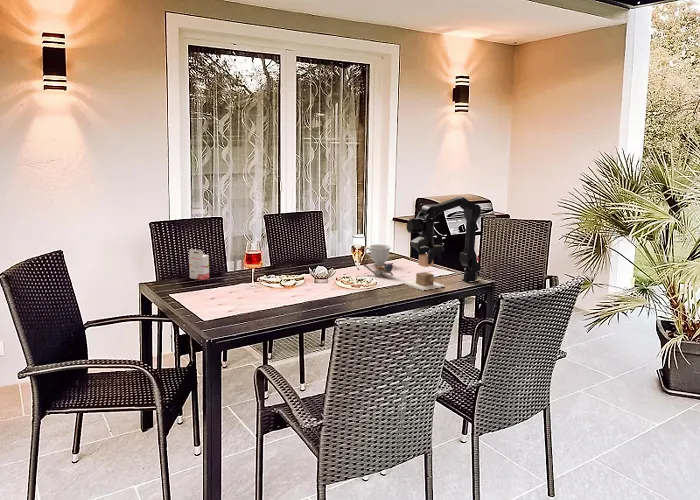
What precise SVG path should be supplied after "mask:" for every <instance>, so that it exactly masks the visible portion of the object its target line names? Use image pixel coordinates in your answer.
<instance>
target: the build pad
mask: <svg viewBox="0 0 700 500" xmlns="http://www.w3.org/2000/svg"><path fill="white" fill-rule="evenodd" d="M404 285H405V286H409V287H410V288H414V289H416V290H418V289H419V291H421V290H422V291H421V292H425V291H424V290H427V291H430V290H429V289H433V290H436V289H435V288H439V289H442V288H441V287H445V288H446V285H445V284H442V283H439V282H436V281H434V282H433V285H427V286H422V285H420V284H417V283H416V280H410V281H405V282H404Z"/></svg>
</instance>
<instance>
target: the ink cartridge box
mask: <svg viewBox="0 0 700 500" xmlns="http://www.w3.org/2000/svg"><path fill="white" fill-rule="evenodd" d="M188 250H189V254H188V258H189V259H188V262H189V266H188V267H189V279H193V280H198V281H199V280H201V281H205V280H208V279H210V260H209V259H210V257H209V256H210V255H209V254H204V251H203V250H200V249H193V248H192V249H191V248H190V249H188Z"/></svg>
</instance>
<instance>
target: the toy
mask: <svg viewBox="0 0 700 500" xmlns="http://www.w3.org/2000/svg"><path fill="white" fill-rule="evenodd" d="M359 263H360V264H361V265H362V266H363V267H364V268H366V269H367V270H368V271H370V272H371V273H372V274H373V275H374V277H379V278H381V277H383V276H384V277H386V278H387V279H390V275H391V276H393V272H392V270H393V268H394V266H393V265H394V262H391V263H387V264H386V265H385V264H384V265H377V267H376V268H375V269H374V270H373V269H372V268H370V267H369V266H368V265H367V264H365V263H364V262H363V261H361V260H360V261H359Z"/></svg>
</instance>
